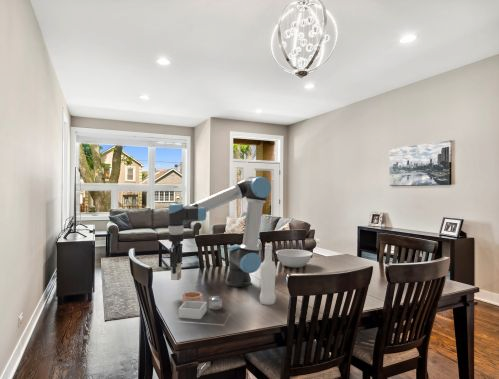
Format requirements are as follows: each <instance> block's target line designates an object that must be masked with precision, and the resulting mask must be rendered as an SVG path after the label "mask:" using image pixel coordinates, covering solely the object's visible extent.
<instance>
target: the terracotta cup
mask: <svg viewBox="0 0 499 379" xmlns="http://www.w3.org/2000/svg"><path fill="white" fill-rule="evenodd" d="M181 298H182V300H181V301H182V302H181V303H182V304H183V303H184V302H185V301H199V302H203V293H201V292H199V291H188V292H187V291H186V292H184V293H183V294H182V297H181ZM182 304H181V305H182Z"/></svg>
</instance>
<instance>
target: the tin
mask: <svg viewBox="0 0 499 379" xmlns="http://www.w3.org/2000/svg"><path fill="white" fill-rule="evenodd" d="M222 300H223V297H222V296H220V295H211V296H209V297H208V308H209V309H210V310H213V311H214V310H215V311H217V310H220V309H222V307H223V306H222V305H223V301H222Z"/></svg>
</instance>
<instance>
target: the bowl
mask: <svg viewBox="0 0 499 379" xmlns="http://www.w3.org/2000/svg"><path fill="white" fill-rule="evenodd" d="M275 253H276V256H277V259H278V260H279V262H280V263H281V264H282V265H283V266H285V267H288V268H294V269H295V268H302V267H305V266H306V265H308V264H309V262H310V261H311V259H312V256H313V254H314V253H313V252H311V251H309V250H305V249H298V248H297V249H295V248H294V249H291V248H290V249H289V248H288V249H287V248H286V249H279V250H275Z"/></svg>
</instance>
